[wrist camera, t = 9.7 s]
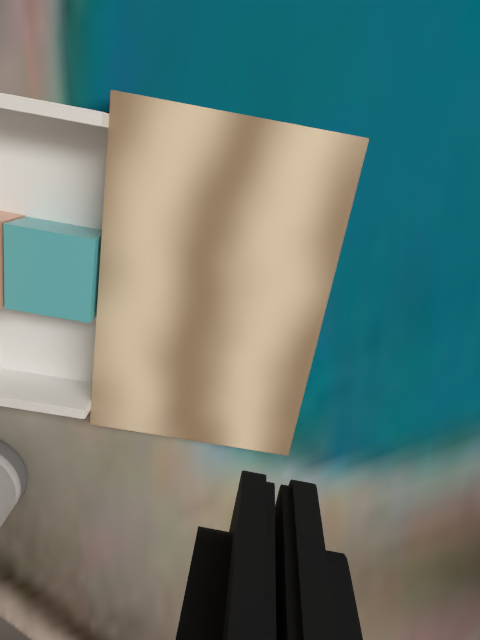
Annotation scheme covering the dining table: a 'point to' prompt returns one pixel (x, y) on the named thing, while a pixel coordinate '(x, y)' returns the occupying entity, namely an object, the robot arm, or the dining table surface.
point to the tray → (60, 206)
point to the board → (215, 269)
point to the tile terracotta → (3, 217)
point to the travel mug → (10, 480)
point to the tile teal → (51, 268)
